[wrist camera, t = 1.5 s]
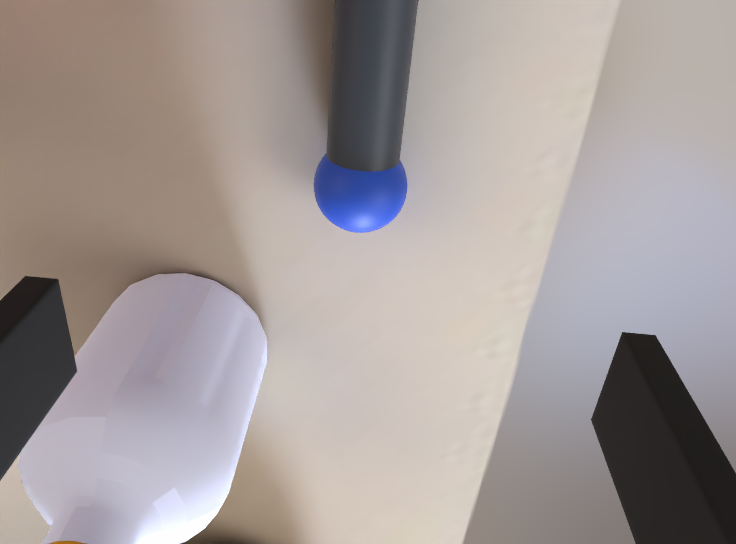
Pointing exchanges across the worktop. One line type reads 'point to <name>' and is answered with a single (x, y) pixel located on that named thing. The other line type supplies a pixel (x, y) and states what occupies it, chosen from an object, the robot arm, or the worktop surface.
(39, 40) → the worktop surface
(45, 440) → the soap bottle
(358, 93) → the microphone
